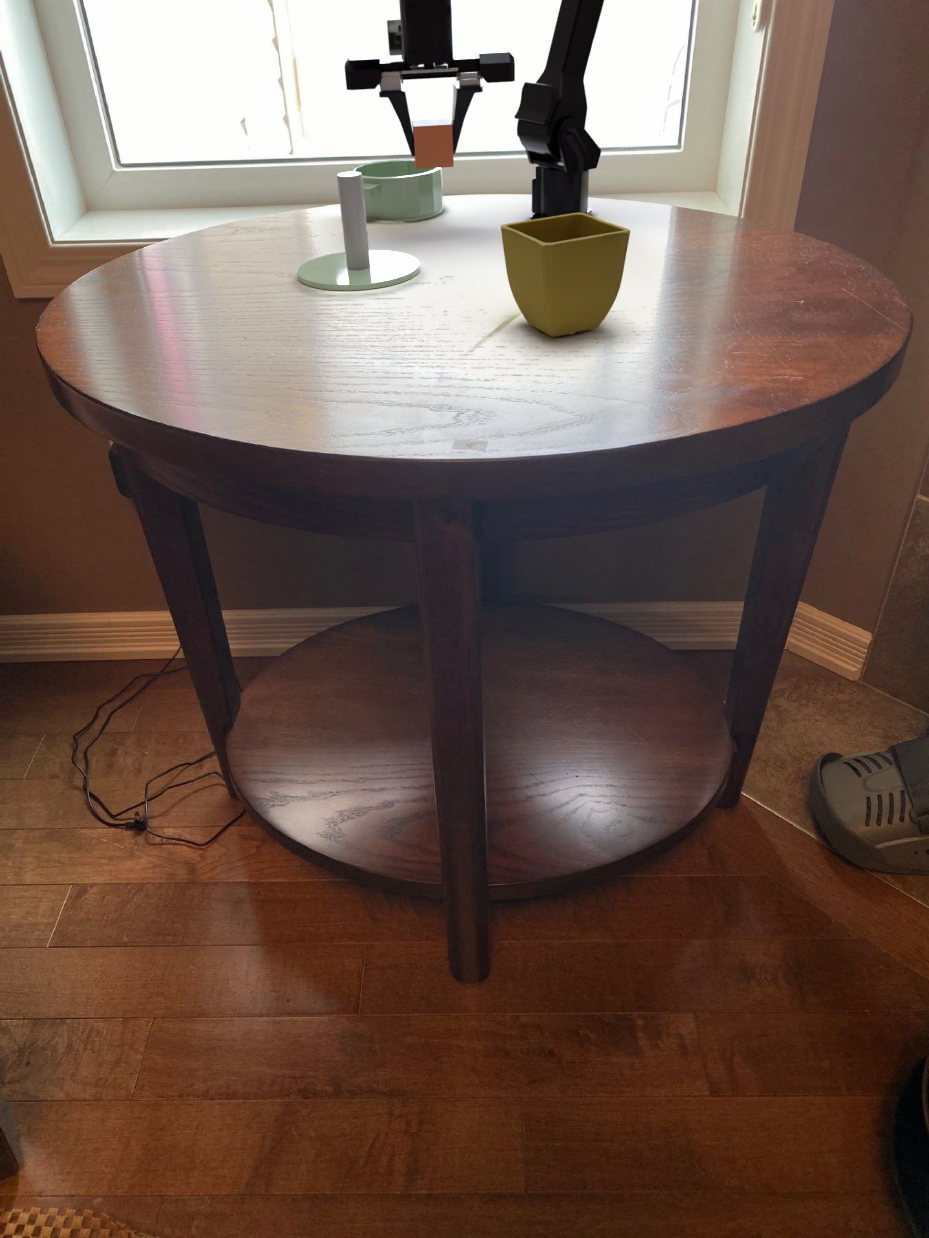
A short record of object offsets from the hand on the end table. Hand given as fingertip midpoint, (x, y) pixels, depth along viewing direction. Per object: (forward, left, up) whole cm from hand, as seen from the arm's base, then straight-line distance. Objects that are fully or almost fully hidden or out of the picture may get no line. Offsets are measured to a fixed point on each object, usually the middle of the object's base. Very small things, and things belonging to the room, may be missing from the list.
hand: (433, 154), depth 107 cm
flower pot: (-25, +24, -10) cm, 36 cm away
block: (0, 0, -1) cm, 1 cm away
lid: (+2, +16, -9) cm, 19 cm away
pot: (+13, -13, -10) cm, 20 cm away
